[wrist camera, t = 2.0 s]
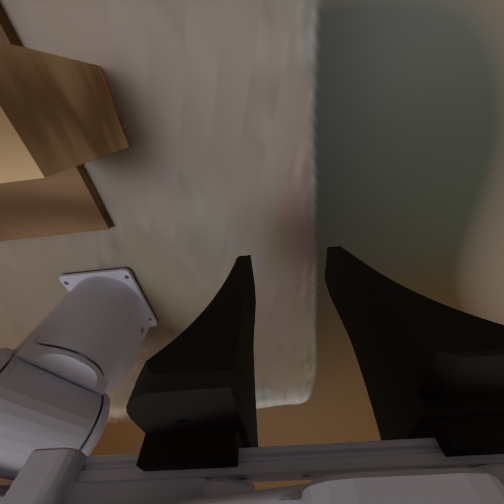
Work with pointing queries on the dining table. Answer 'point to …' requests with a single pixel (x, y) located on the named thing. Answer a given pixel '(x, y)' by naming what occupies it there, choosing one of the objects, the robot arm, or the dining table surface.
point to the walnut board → (48, 195)
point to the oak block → (53, 114)
